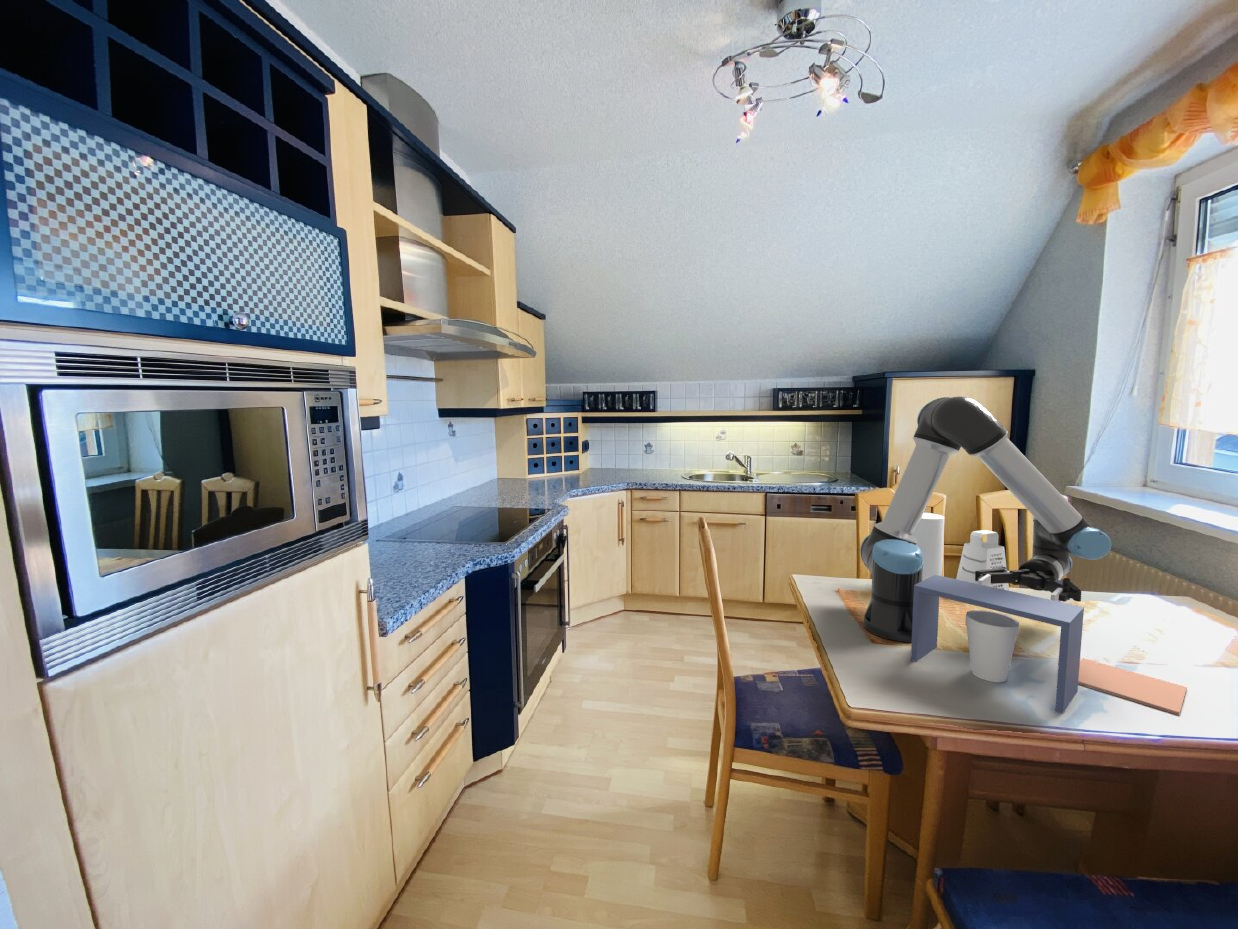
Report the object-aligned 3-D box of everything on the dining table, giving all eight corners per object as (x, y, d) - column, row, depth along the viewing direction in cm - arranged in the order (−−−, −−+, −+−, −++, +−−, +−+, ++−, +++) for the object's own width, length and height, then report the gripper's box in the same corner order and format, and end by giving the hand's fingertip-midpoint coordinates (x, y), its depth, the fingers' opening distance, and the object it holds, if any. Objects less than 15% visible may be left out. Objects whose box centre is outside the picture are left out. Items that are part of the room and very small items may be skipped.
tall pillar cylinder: (901, 583, 170) (904, 511, 168) (938, 587, 165) (941, 513, 163) (904, 593, 160) (907, 517, 158) (943, 597, 156) (947, 519, 153)
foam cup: (998, 690, 104) (1002, 630, 103) (953, 669, 113) (956, 614, 111) (1025, 680, 108) (1028, 622, 107) (979, 661, 116) (982, 607, 115)
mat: (1068, 680, 107) (1068, 678, 107) (1082, 660, 116) (1083, 658, 116) (1179, 715, 94) (1179, 712, 94) (1186, 689, 103) (1186, 687, 103)
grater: (1010, 596, 156) (1013, 534, 155) (985, 600, 153) (989, 537, 151) (977, 585, 166) (980, 527, 164) (953, 589, 163) (956, 529, 161)
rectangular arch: (910, 659, 117) (913, 585, 116) (931, 645, 125) (934, 574, 123) (1063, 713, 96) (1069, 622, 94) (1077, 691, 103) (1083, 607, 101)
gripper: (1106, 600, 118) (1086, 625, 105) (982, 576, 138) (952, 594, 125) (1108, 569, 117) (1088, 590, 104) (982, 549, 137) (953, 565, 124)
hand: (1014, 593), depth 115 cm, fingers open, 13 cm apart
